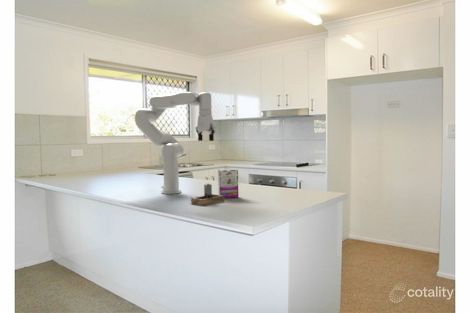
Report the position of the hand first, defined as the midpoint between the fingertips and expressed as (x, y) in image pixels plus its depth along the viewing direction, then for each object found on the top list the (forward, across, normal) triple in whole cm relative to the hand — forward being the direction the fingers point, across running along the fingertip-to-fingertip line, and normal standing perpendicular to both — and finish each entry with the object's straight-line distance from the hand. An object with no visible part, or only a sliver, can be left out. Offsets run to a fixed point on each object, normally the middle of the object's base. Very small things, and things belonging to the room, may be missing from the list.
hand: (205, 140), depth 212 cm
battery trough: (+33, +20, -19) cm, 43 cm away
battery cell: (+33, +20, -19) cm, 43 cm away
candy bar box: (+34, +19, -1) cm, 39 cm away
